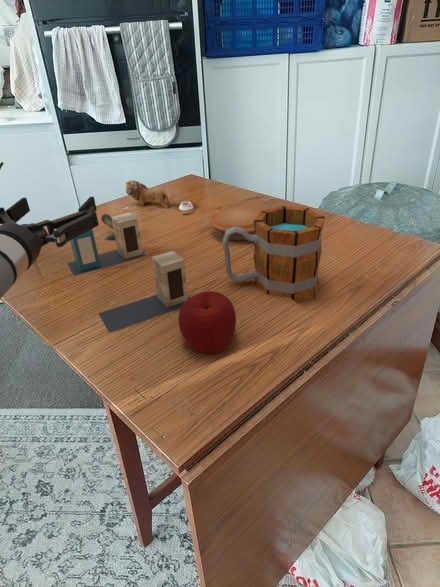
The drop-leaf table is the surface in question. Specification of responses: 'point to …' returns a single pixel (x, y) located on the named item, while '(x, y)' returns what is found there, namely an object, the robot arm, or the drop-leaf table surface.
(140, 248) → the letter
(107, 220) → the eagle figurine
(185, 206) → the white jar
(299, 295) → the mug
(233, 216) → the pie
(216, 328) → the apple
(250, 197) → the drop-leaf table surface
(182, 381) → the drop-leaf table surface
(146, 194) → the lion figurine
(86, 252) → the teal upright block
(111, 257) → the board
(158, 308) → the front word board
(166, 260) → the cream upright block
